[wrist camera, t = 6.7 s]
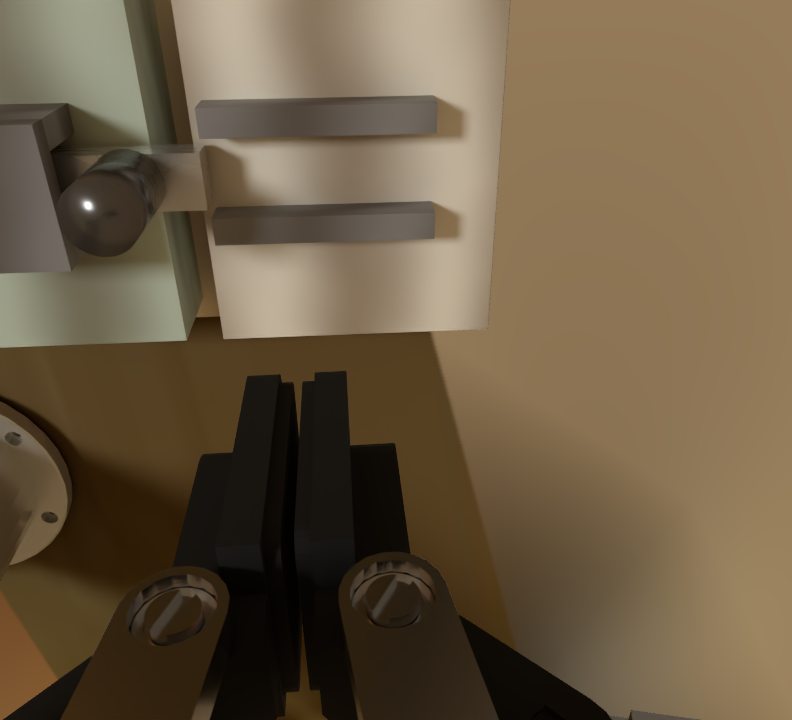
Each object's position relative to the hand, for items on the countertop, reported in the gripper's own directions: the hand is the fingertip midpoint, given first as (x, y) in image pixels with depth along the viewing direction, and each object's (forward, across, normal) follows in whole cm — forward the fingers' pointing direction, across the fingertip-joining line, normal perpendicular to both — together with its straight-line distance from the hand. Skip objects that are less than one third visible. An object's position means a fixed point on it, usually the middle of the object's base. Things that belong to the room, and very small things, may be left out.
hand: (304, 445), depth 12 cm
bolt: (+16, +8, -1) cm, 18 cm away
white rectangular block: (+21, +3, -1) cm, 22 cm away
